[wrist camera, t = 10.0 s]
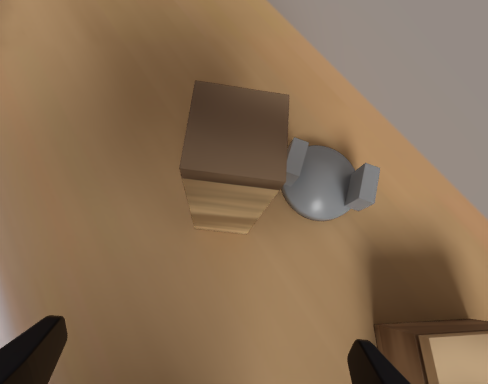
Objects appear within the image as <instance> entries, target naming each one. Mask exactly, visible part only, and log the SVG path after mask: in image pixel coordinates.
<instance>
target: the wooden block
mask: <svg viewBox="0 0 488 384" xmlns="http://www.w3.org/2000/svg"><path fill="white" fill-rule="evenodd" d="M288 116H289V95H286V94H280V93H273V92H267V91H260V90H254V89H248V88H241V87H235V86H228V85H222V84H215V83H209V82H203V81H196V80H195V85H194V90H193V96H192V101H191V107H190V112H189V118H188V123H187V129H186V135H185V140H184V146H183V151H182V157H181V162H180V168H179V169H180V172H181V176H182V180H183V184H184V188H185V192H186V196H187V200H188V204H189V208H190V212H191V216H192V220H193V224H194V228H195V229H202V230H211V231H220V232H229V233H239V234H247V233H248V232H249V230H250V229H251V228H252V226H253V225H254V224H255V222H256V221H257V220H258V218H259V217H260V216H261V214H262V213H263V212H264V210H265V209H266V208H267V206H268V205H269V204H270V202H271V201H272V200H273V198H274V197H275V196H276V195H277V193H278V192H279V191H280V189H281V188H282V187H283V185H284V184H285V183H286V171H287V143H288Z"/></svg>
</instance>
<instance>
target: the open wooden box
mask: <svg viewBox="0 0 488 384" xmlns="http://www.w3.org/2000/svg"><path fill="white" fill-rule="evenodd" d="M374 329H375V335H376V341H377V347H378V350H379V351H380V352H381V353H382V354H383V355H384V356H385V357H386V358H387V359H388V360H389V361H390V362H391V363H392V365H393V366H394V367H395V368H396V369H397V370H398V371H399V372H400V373H401V374H402V375H403V376H404V377H405V378H406V379H407V380H408V381H409V382H410V383H411V384H429V383H428V378H427V373H426V369H425V364H424V359H423V355H422V350H421V345H420V341H419V336H418V335H432V334H447V333H463V332H478V331H488V321H481V320H474V319H460V320H442V321H425V322H408V323H391V324H374Z"/></svg>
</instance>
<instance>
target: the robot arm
mask: <svg viewBox="0 0 488 384" xmlns="http://www.w3.org/2000/svg"><path fill="white" fill-rule="evenodd" d="M66 341H67V329H66V324H65V319H64V317H63V316H54V315H49V316H47V317H45V318H43V319H42V320H40V321H39V322H38V323H36V324H35V325H33V326H32V327H31V328H29V329H28V330H26V331H25V332H23V333H22V334H21V335H19V336H18V337H16V338H15V339H14V340H12V341H11V342H9V343H8V344H6V345H5V346H4V347H2V348H1V349H0V384H48V382H49V380H50V377H51V375H52V373H53V371H54V368H55V366H56V364H57V362H58V359H59V357H60V355H61V353H62V350H63V348H64V346H65V344H66ZM347 360H348V366H349V371H350V376H351V381H352V384H411V383H410V382H409V381H408V380H407V379H406V378H405V377H404V376H403V375H402V374H401V373H400V372H399V371H398V370H397V369H396V368H395V367H394V366H393V365H392V363H391V362H390V361H389V360H388V359H387V358H386V357H385V356H384V355H383V354H382V353H381V352H380V351H379V350H378V349H377V348H376V347H375V346H374V345H373V344H372V343H371V342H370V341H368V340H362V339H357V340H355V341H354V343H353V345H352V347H351V350H350V352H349V354H348V359H347Z"/></svg>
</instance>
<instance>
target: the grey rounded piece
mask: <svg viewBox="0 0 488 384" xmlns="http://www.w3.org/2000/svg"><path fill="white" fill-rule="evenodd" d="M308 144H309V142H306V141H303V140H300V139H298V138H295V137H294V138H293V140H292V142H291V143H290V145H289V147H288V149H287V171H286V183H285V184H284V185H283V187H282V188H281V189H282V193H283V195H284V197H285V199H286V201H287V203H288V204H289V205H290V206H291V208H292V209H293V210H294V211H296V212H297V213H298V214H300V215H301V216H303V217H305V218H308V219H311V220H315V221H328V220H332V219H335V218H337V217H339V216H341V215H343V214H344V213H346V212H347V211H348V210H350V209H354V210H357V211H360V210H362V209H364V208H366V207H368V206H370V205H372V204H374V203H375V197H376V191H377V185H378V179H379V173H380V168H378V167H376V166H373V165H370V164H367V163H365V164H363V165H362V166H361V167H360V168H358V169H357V170H356V171H355V170H354V168H353V166H352V165H351V163H350V162H349V161H348V160H347V159H346V158H345V157H344V156H343V155H342V154H340V153H339V152H337V151H336V150H334V149H331V148H328V147H325V146H317V145H314V146H308Z"/></svg>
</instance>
